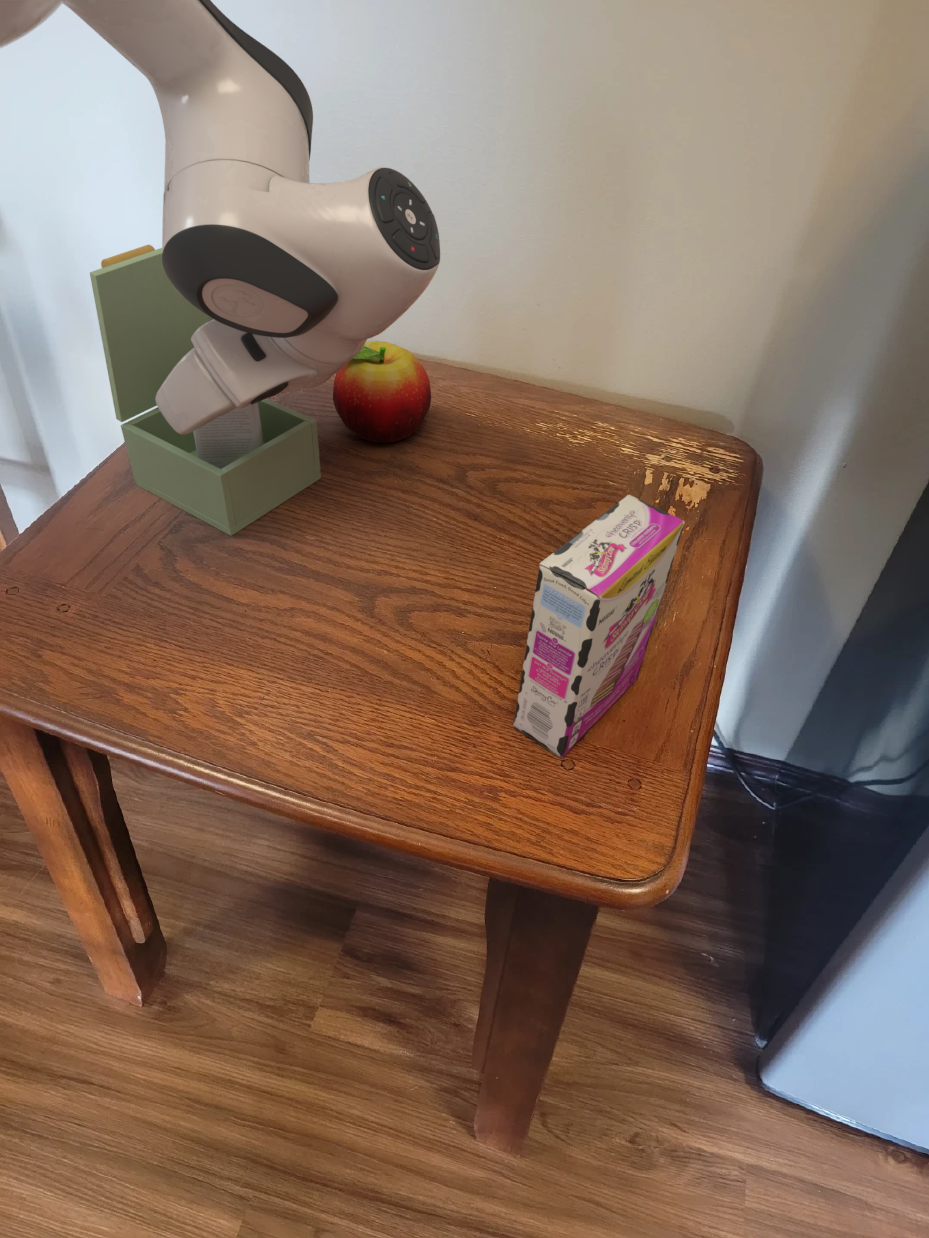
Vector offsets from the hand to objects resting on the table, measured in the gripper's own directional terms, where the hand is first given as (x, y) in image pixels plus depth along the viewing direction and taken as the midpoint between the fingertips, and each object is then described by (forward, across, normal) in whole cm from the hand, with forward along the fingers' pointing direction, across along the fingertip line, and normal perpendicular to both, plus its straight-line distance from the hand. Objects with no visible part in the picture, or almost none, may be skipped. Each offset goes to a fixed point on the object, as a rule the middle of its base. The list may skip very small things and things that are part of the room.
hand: (230, 399), depth 79 cm
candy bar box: (-22, +4, +36) cm, 43 cm away
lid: (+2, 0, -9) cm, 9 cm away
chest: (+9, 0, +6) cm, 10 cm away
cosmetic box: (+7, 0, +6) cm, 10 cm away
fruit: (+5, -18, +10) cm, 21 cm away
